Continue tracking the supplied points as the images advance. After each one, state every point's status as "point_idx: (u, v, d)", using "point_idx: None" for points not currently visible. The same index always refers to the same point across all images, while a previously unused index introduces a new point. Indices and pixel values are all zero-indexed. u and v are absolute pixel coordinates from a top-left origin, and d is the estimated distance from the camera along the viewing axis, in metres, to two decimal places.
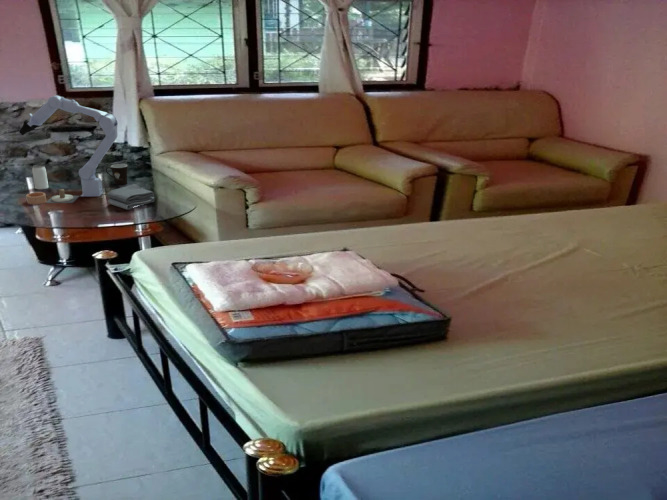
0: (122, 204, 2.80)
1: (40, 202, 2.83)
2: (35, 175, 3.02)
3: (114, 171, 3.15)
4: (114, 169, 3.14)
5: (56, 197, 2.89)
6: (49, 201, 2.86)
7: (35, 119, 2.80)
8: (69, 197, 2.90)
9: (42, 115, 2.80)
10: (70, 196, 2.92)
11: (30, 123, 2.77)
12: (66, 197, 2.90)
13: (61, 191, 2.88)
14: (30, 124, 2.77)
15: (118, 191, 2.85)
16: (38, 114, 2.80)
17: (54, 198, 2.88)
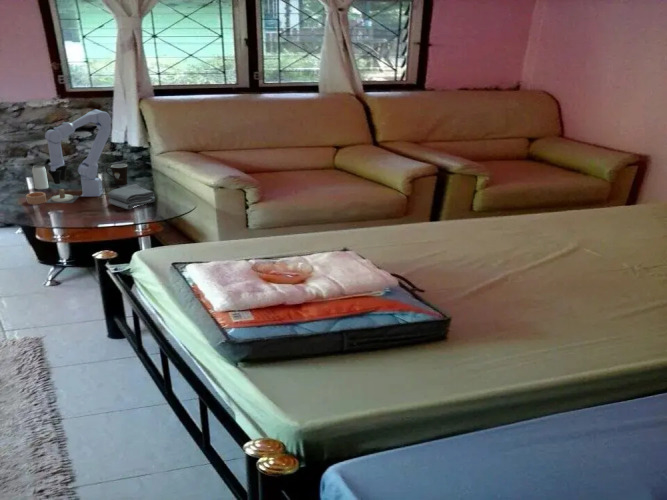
0: (122, 204, 2.80)
1: (40, 202, 2.83)
2: (35, 175, 3.02)
3: (114, 171, 3.15)
4: (114, 169, 3.14)
5: (56, 197, 2.89)
6: (49, 201, 2.86)
7: (54, 163, 2.80)
8: (69, 197, 2.90)
9: (59, 155, 2.80)
10: (70, 196, 2.92)
11: (52, 168, 2.77)
12: (66, 197, 2.90)
13: (61, 191, 2.88)
14: (53, 169, 2.77)
15: (118, 191, 2.85)
16: (52, 157, 2.80)
17: (54, 198, 2.88)
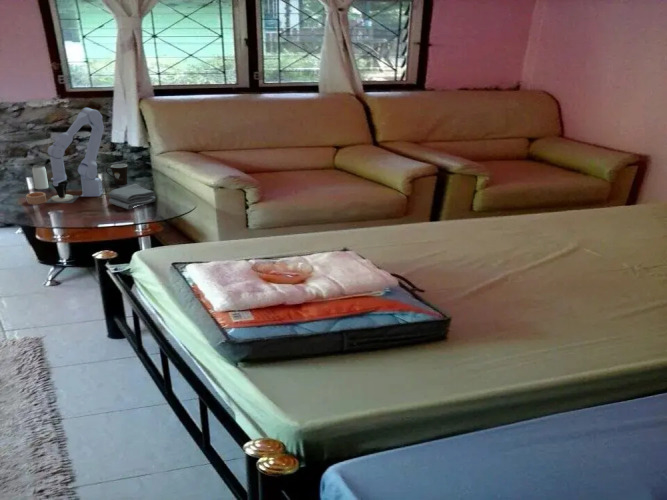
0: (123, 204, 2.81)
1: (40, 202, 2.83)
2: (35, 175, 3.02)
3: (114, 171, 3.15)
4: (114, 169, 3.14)
5: (56, 197, 2.89)
6: (49, 201, 2.86)
7: (57, 178, 2.83)
8: (69, 197, 2.90)
9: (61, 169, 2.83)
10: (70, 196, 2.92)
11: (55, 183, 2.80)
12: (66, 197, 2.90)
13: None
14: (55, 184, 2.80)
15: (119, 191, 2.86)
16: (54, 172, 2.82)
17: (54, 198, 2.88)
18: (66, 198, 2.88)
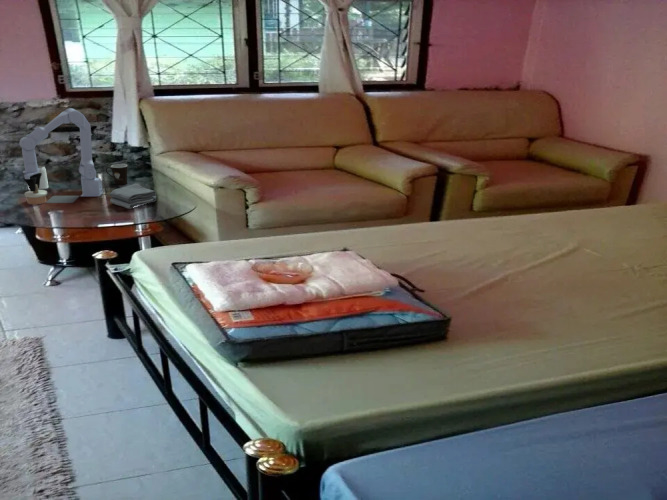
0: (124, 203, 2.81)
1: (40, 202, 2.83)
2: None
3: (114, 171, 3.15)
4: (114, 169, 3.14)
5: (29, 192, 2.83)
6: (49, 201, 2.86)
7: (28, 171, 2.77)
8: (43, 192, 2.84)
9: (32, 162, 2.76)
10: (44, 191, 2.85)
11: (26, 176, 2.73)
12: (39, 192, 2.84)
13: None
14: (27, 177, 2.73)
15: (120, 190, 2.86)
16: (26, 165, 2.76)
17: (27, 193, 2.81)
18: (39, 193, 2.82)
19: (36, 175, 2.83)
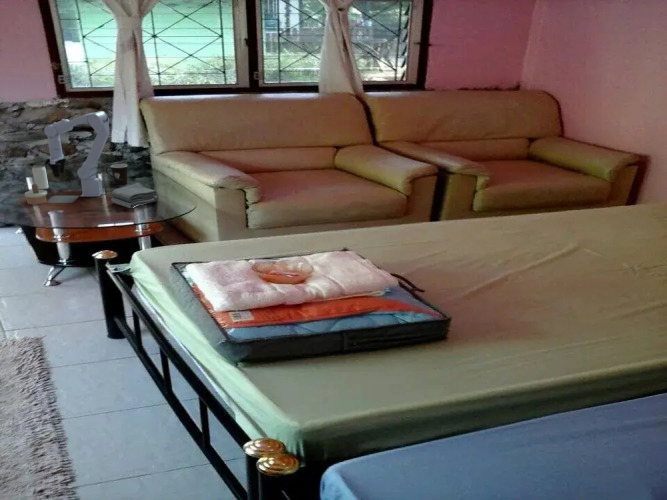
0: (125, 203, 2.82)
1: (40, 202, 2.83)
2: (35, 175, 3.02)
3: (114, 171, 3.15)
4: (114, 169, 3.14)
5: (29, 192, 2.83)
6: (49, 201, 2.86)
7: (54, 156, 2.91)
8: (43, 192, 2.84)
9: (53, 149, 2.89)
10: (44, 191, 2.85)
11: (52, 161, 2.87)
12: (39, 192, 2.84)
13: (34, 186, 2.81)
14: (53, 162, 2.88)
15: (121, 190, 2.87)
16: (52, 151, 2.90)
17: (27, 193, 2.81)
18: (39, 193, 2.82)
19: (61, 160, 2.98)
